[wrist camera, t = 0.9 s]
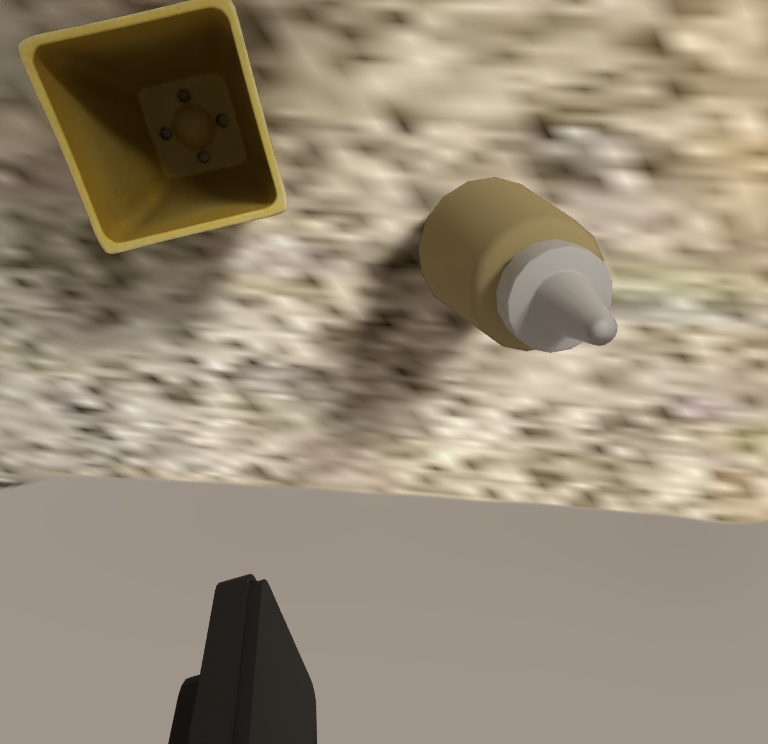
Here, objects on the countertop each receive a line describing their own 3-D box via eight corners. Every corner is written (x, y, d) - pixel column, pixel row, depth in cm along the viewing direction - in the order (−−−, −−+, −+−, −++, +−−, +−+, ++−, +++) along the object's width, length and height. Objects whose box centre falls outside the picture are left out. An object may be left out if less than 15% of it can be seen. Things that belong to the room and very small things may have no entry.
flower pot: (293, 190, 35) (291, 212, 27) (149, 224, 34) (102, 257, 26) (249, 24, 31) (230, -10, 23) (88, 60, 31) (11, 39, 23)
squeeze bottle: (429, 316, 39) (522, 458, 23) (390, 199, 36) (466, 267, 19) (542, 273, 39) (718, 384, 22) (513, 151, 35) (696, 179, 19)
